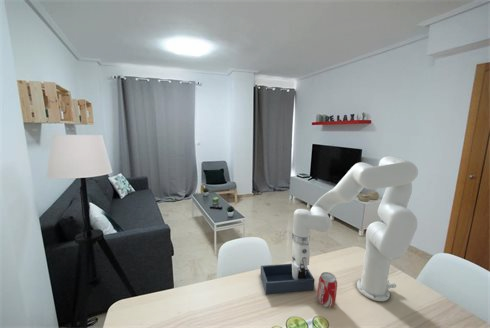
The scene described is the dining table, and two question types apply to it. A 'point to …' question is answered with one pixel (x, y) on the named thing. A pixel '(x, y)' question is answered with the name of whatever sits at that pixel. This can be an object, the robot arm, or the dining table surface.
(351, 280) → the dining table surface
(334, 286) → the soda can
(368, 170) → the robot arm
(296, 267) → the white cylinder
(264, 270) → the bin
